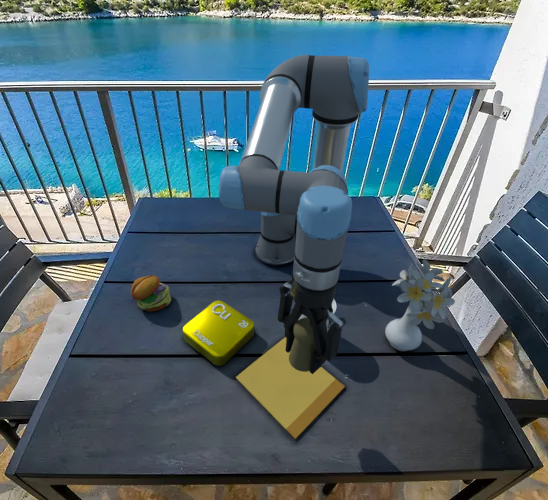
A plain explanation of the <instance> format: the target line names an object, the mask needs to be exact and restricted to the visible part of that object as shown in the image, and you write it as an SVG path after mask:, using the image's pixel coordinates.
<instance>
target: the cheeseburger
mask: <svg viewBox="0 0 548 500" xmlns="http://www.w3.org/2000/svg"><path fill="white" fill-rule="evenodd" d="M130 294H131V297H132V299H133V300H135V302H137V306H138V307H139V309H142V310H144V311H145V312H150V313H151V312H156V311H159V310H162V309H164V308H165V307H168V306H169V305H170V304H171V302H172V297H171V292H170V287H169V286H168V285H167V284H166V283H162V282H161V279H160V278H159V277H158V276H156V275H155V274H152V275H151V274H150V275H146V276H142V277H141V276H140V277H138V278H137V279H135V280H134V282H133V283H132V285H131V289H130Z"/></svg>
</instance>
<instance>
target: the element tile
mask: <svg viewBox="0 0 548 500" xmlns="http://www.w3.org/2000/svg"><path fill="white" fill-rule="evenodd" d="M181 329H182V337H183V339H184V342H185V343H186V344H188V345H189V346H190V347H191V348H193V349H194V350H196V351H197V352H198V353H199V354H200V355H202V356H203V357H205V359H207V360H208V361H209V362H211V363H212V364H213V365H215V366H218V367H221V366H224V365H225V364H226V363H227V362H228V361H230V359H232V357H233V356H234V355H236V353H238V352H239V351H240V350H241V349H242V347H244V346H245V345H246V344H247V343H248V342H249V341H250V340H251V339H252V338H253V337H254V334H255V322H254V321H253V320H252V318H251V319H250V318H249V317H247V316H246V315H244V314H243V313H241V312H240V311H239V310H237V309H236V308H234V307H232V306H231V305H230V304H228V303H226V302H224V301H223V300H219V299H218V300H214V301H212V302H211V303H210V304H209V305H207V306H205V308H203V310H201V311H200V312H199V313H197V314H196V315H195V316H194V317H193V318H191V319H190V320H188V321H187V322H186V323H185V324H184V325H183V326H182V328H181Z"/></svg>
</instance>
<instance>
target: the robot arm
mask: <svg viewBox="0 0 548 500" xmlns="http://www.w3.org/2000/svg"><path fill="white" fill-rule="evenodd" d="M369 81H370V64H369V61H368V59H366V58H365V57H359V56H358V57H357V56H351V55H311V54H300V55H297V56H293V57H291V58H289V59H286V60H284V61H283V62H282V63H280V64H279V65H278V66H276V67H274V68H273V70H272V71H271V72H269V74H268V75H267V76H266V77H265V79H264V81H263V84H262V86H261V88H260V92H259V101H260V104H259V107H258V111H257V113H256V116H255V119H254V121H253V124H252V128H251V130H250V132H249V136H248V138H247V141H246V144H245V146H244V150H243V152H242V154H241V155H242V156H241V159H240V162H239V165H238V164H235V165H226V166H225V167H223V168H222V169H221V172H220V175H219V180H218V197H219V202H220V203H221V205H222V206H223V207H225V208H230V209H234V210H240V211H242V212H243V211H244V212H245V211H249V212H250V211H251V212H259V213H260V235H259V238H258V239H257V243H256V245H255V250H254V251H255V256H256V259H257V260H258V261H260V262H261V263H263V264H264V265H267V266H270V267H284V266H285V267H286V266H288V265H290V264H293V266H292V276H291V280H288V281H286V282H285V283H284V284H282V285H280V286H279V287H278V288H279V294H280V297H279V306H278V312H277V321H278V322H279V323H282V324H283V328H284V338H285V337H286V338H287V339H286V350H285V351H286V352H287V353H289V352H290V351H291V348H292V345H293V342H294V338H295V335H294V325H295V323H296V322H297V321H298V319H299V318H300V316H301V315H302V314H303V315H305V316H306V317H307V318H308V319H309V322H310V327H312V328H313V333H314V339H315V345H316V350H315V351H314V352H313V356H312V361H311V367H310V373H312V374H313V373H315V372H316V371H317V370H318V369H319V368H320V367H322V365H323V364H324V363H326V361H327V362H330V361H331V360H333V359H334V358H335V357H336V356H337V355H338V354H339V350H340V343H341V336H342V329H343V327H344V326H345V325H346V323H347V321H346V319H345V317H338V316H336V315H335V314H333V308H332V302H333V300H335V296H336V291H337V286H338V281H339V277H340V271H341V265H342V261H343V260H342V259H343V255H344V249H345V245H346V240H347V236H348V231H349V227H350V226H351V222H352V211H353V210H352V209H353V201H352V198H351V196H349V188H348V183H347V182H348V181H347V178H346V176H345V174H344V173H343V171H344V165H345V160H346V156H347V155H346V154H347V149H348V144H349V137H350V132H351V126H352V125H353V124H354V123H356V122H358V120H359V116H360V113H361V114H363V113H365V112H366V111H367V110H368V109H367V108H368V100H369V83H370V82H369ZM298 109H310V110H312V111H311V113H312V115H311V116H312V118H313V119H314V121H316V130H315V131H316V132H315V140H314V150H313V160H312V166H311V167H312V169H311V170H310V171H309V172H305V171H304V172H303V171H292V170H282V169H281V166H282V161H283V157H284V152H285V150H286V149H285V148H286V144H287V141H288V136H289V132H290V128H291V123H292V119H293V115H294V113H295V112H296V111H297V110H298ZM293 301H294V306H293ZM292 306H293V307H292ZM327 319H328V320H329V325H328V328H329V330H328V332H327V325H326V322H327Z"/></svg>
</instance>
